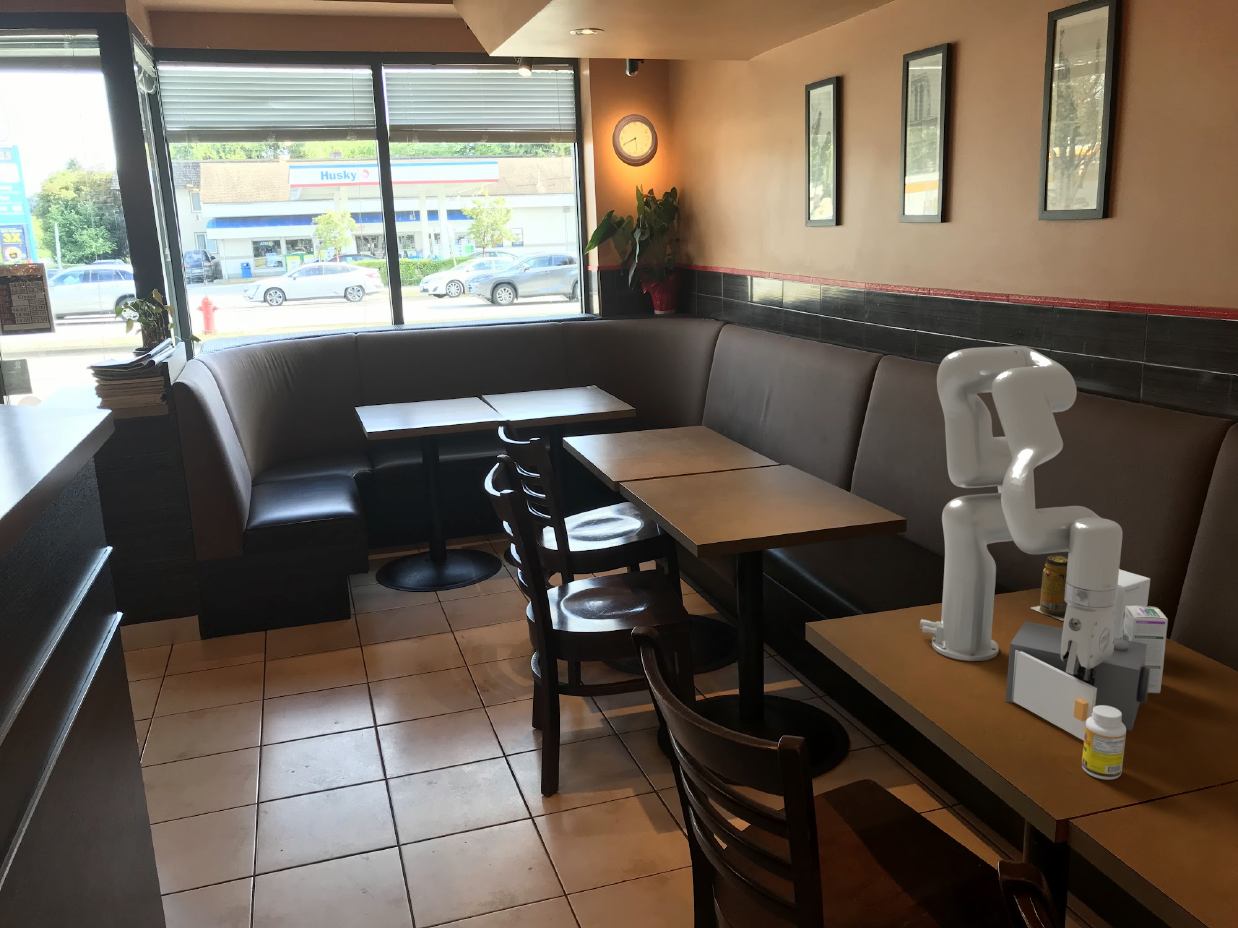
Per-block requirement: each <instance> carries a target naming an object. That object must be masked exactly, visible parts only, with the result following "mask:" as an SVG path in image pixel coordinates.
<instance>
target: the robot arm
mask: <svg viewBox="0 0 1238 928" xmlns="http://www.w3.org/2000/svg"><path fill="white" fill-rule="evenodd" d="M937 369H938V370H937V373H936V386H937V394H938V399H939V402H940V405H941V408H942V413H943V417H944V428H945V429H944V431H945V449H946V464H947V473H948V477H949V480H950V482H951V483H952V484H953V485H954V486H956V487H960V488H964V489H972V488H973V489H974V488H987V487H997V490H998V491H997V492H996V493H995V492H994V493H979V494H968V495H962V496H958V497H955V498H953V499H951V500H950V501H949V502H947V504H946V505H945V506H944V507H943V509H942V515H941V522H942V523H941V524H942V529H943V537H944V539H943V540H944V568H943V569H944V571H943V572H944V573H943V585H942V587H943V589H942V602H941V603H942V604H941V617H940V618H941V619H940V620H941V621H939V620H936V621H931V620H928V619H923V618H922V619H920V622H919V628H920V629H922V633H924V634H930V635H933V636H932V638H931V646H932V649H934V651H936V652H937V653H939V654H941V655H943V656H945V657H947V658H951V659H954V660H959V661H967V662H982V661H983V662H984V661H988V660H991V659H994V658H995V657H997V655H999V649H1000V648H999V647H1000V646H999V644H998V643H997V642H996V641H995V640H993V639H992V631H993V619H994V618H993V615H994V604H995V603H994V602H995V589H996V576H997V575H996V574H997V566H996V562H995V560H994V558H993V556H992V555H991V553H990V551H989V550H988V546H987V545H989V544H994V543H1001V542H1012V541H1013V542H1014V544H1015V545H1016V546H1017V548H1018V549H1019V550H1020V551H1021V552H1024V553H1026V554H1028V555H1046V554H1055V553H1067V552H1068V554H1067V555H1068V556H1067V558H1068V564H1067V576H1066V587H1065V599H1064V600H1065V602H1066V603H1068V604H1067V609H1066V613H1065V619H1064V620H1063V625H1062V626H1063V627H1062V628H1063V631H1062V639H1061V660H1062V661H1063V662H1067V661H1068V662H1067V667H1066V673H1070V675H1071V676H1073V677H1075V678H1077V679H1079V680H1081V681H1083V682H1085V683H1087V684H1089V685H1091V686H1093V687H1094V683H1095V678H1093V677H1095V675H1096V672H1097V666H1098V664H1100V663H1101V662H1103V661H1104V660H1106V659H1107V658H1109V657H1110V656H1111V655H1112V654H1113V651H1114V639H1115V606H1116V596H1117V586H1118V576H1119V569H1120V563H1121V554H1122V542H1123V528H1122V527H1121V525H1120V524H1119V523H1118V522H1116V521H1114V520H1112V519H1108V518H1104V517H1101V516H1099V515H1098V514H1097V513H1096V512H1094V511H1093V510H1091V509H1090V508H1087V507H1086V506H1081V505H1070V506H1068V505H1067V506H1053V507H1044V508H1036V497H1035V495H1036V494H1035V477H1034V469H1035V468H1037V467H1038V466H1040V465H1042V464H1044V463H1046V462H1048V461H1049V460H1051V459H1053V458H1055V457H1056V456H1057V455H1058V454H1059V453H1060V452H1061V451H1062V450H1063V448H1064V442H1063V439H1062V436H1061V433H1060V430H1059V427H1058V425H1057V423H1056V422H1057V421H1056V419H1055V416H1054V413H1059V412H1065V411H1068V410H1069V409H1070V408H1071V407H1072V406H1074V403H1075V401H1076V399H1077V393H1078V391H1077V385H1076V382H1075V379H1074V377H1073V376H1072V374H1071V372H1070V371H1068V370H1067V369H1066V368H1065V366H1063V365H1062V364H1060V363H1059V362H1057V361H1055V360H1053V359H1051V358H1050V357H1048V356H1046V355H1044V354H1042V353H1041V352H1039V351H1037V350H1035V349H1032V348H1029V346H1028V347H1027V346H1021V345H1020V346H1019V345H1017V346H1016V345H1014V346H1013V345H1011V346H988V347H987V346H986V347H985V346H984V347H982V346H981V347H970V348H963V349H958V350H955V351H952V352H951V353H949V354H947V355H946V356H945V357H944V358H943V359H942V360H941V363H940V364H939V366H938V368H937ZM983 393H984V394H985V393H991V396H992V400H993V402H994V406H995V409H996V412H997V416H998V418H999V421H1000V425H1001V427H1002V430H1003V435H1004V436H994V435H993V434H994V433H993V425H992V424H993V423H992V415H991V411H990V410H989V409H988V407H987V405H986V404H985V402H984V401H983V399H981V397H980V396H979V395H978V394H983Z"/></svg>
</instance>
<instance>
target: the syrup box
mask: <svg viewBox="0 0 1238 928" xmlns="http://www.w3.org/2000/svg"><path fill="white" fill-rule="evenodd" d="M1168 622H1169V620H1168V618H1167V617H1166V615H1165V614H1164V613H1163V611H1161V609H1159V607H1157V606H1151V605H1149V606H1148V605H1147V606H1126V607H1125V617H1124V627H1123V640H1128V641H1133V642H1138V643H1144V644H1147V648H1146V657H1145V665H1144V667H1148V668H1150V680H1149V688H1148V694H1151V693H1152V694H1160V693H1161V691H1162V688H1161V687H1162V682H1163V681H1162V679H1163V670H1164V664H1165V663H1164V661H1165V651H1166V640H1167V631H1168Z"/></svg>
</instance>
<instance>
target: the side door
mask: <svg viewBox="0 0 1238 928" xmlns="http://www.w3.org/2000/svg"><path fill="white" fill-rule="evenodd" d="M1096 693H1097V688H1095V687H1093V686H1091V685H1089V684H1087V683H1085V682H1083V681H1081V680H1079V679H1077V678H1075V677H1073V676H1071V675H1069V674H1067V673H1065V672H1063V671H1061V670H1059V669H1057V668H1055V667H1053V666H1051V665H1049V664H1047V663H1045V662H1043V661H1041V660H1038V659H1036V658H1034V657H1032V656H1030V655H1028V654H1026V653H1024V652H1022V651H1020V650H1015V662H1014V674H1013V686H1012V698H1011V700H1012V701H1014V702H1015V703H1017V704H1016V705H1019V706H1021V707H1023V708H1025V709H1027V710H1028V711H1030V712H1032V713H1033V714H1036V715H1037V716H1039V717H1041V718H1043V719H1044V720H1046V721H1047V722H1050V723H1051V724H1053V725H1055V726H1057V727H1058V728H1060V729H1063V730H1064V731H1066V732H1068V733H1069V734H1071V735H1073V736H1075V737H1076V738H1078V739H1080V740H1082V741H1083V742H1084V735H1085V725H1086V720H1087V719H1088V718H1089V717H1091V716H1092V713H1093V708H1094V707H1095V702H1096ZM1015 703H1014V704H1015Z"/></svg>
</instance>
